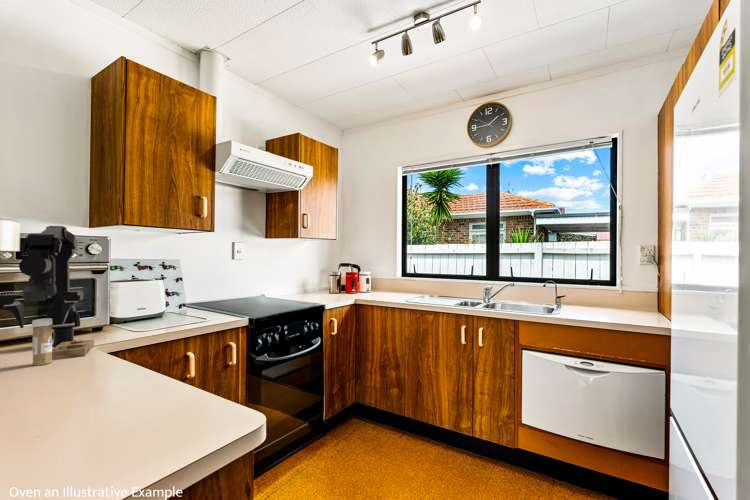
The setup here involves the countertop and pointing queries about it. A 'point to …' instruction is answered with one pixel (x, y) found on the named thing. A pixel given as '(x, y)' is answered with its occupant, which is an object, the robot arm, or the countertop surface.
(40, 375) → the countertop surface
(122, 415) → the countertop surface
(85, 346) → the socket board
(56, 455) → the countertop surface
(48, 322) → the sprinkles bottle
